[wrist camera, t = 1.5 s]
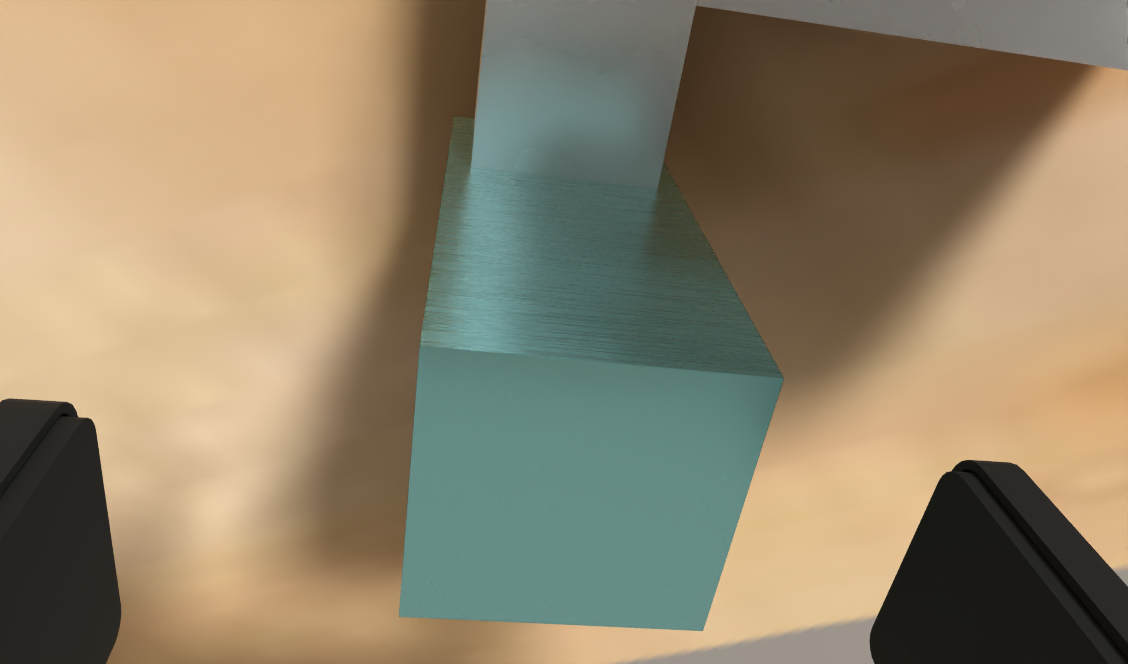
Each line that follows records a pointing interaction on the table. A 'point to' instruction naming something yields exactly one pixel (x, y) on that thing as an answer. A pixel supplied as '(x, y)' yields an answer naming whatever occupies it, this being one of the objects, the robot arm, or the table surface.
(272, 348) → the table surface
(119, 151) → the table surface
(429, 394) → the sled
